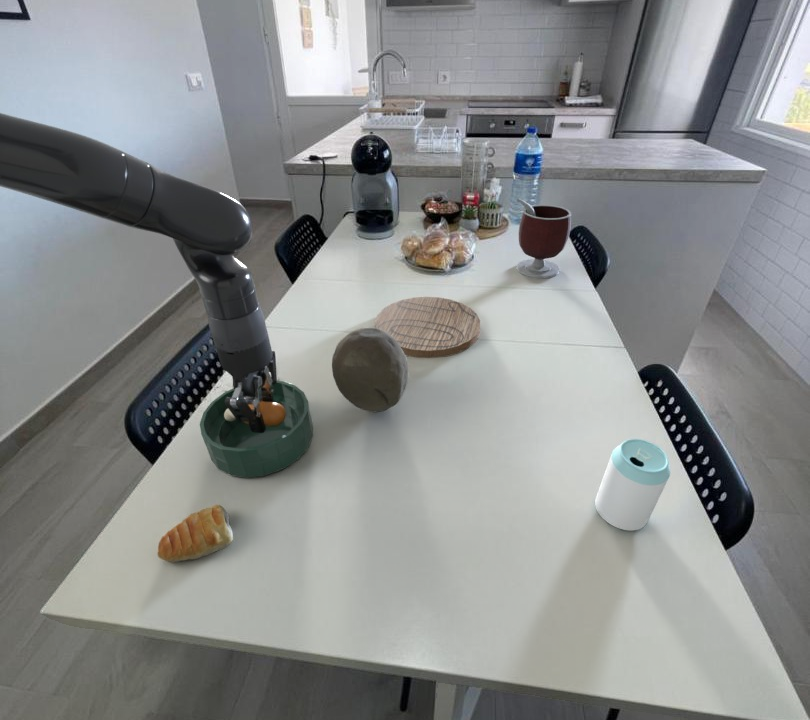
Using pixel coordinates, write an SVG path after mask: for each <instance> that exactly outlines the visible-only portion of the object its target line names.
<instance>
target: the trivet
mask: <svg viewBox="0 0 810 720" xmlns="http://www.w3.org/2000/svg"><path fill="white" fill-rule="evenodd" d="M480 319H481V318H480V317H479V316H478V314H477V312H476V311H475V310H473V309H472V308H471V307H470V306H467V305H466V304H464V303H462V302H460V301H457V300H453V299H449V298H444V297H440V296H439V297H438V296H419V297H410V298H405V299H401V300H398V301H395V302H393V303H390V304H389V305H387V306H385V307H384V308H383V309H381V310H380V312H379V313H378V314H377V315H376V318H375V320H374V328H378V329H381V330H384V331H385V332H387V333H389V334H390V335H391V336H392V337H394V338H395V339H396V341H397V342H398V343H399V345H400V347H401V348H402V350H403V352H404V354H405V356H408V357H413V358H422V359H423V358H424V359H433V358H434V359H435V358H444V357H448V356H449V357H450V356H452V355H456V354H459V353H461V352H463V351H465V350H467V349H469V348H471V347H472V346H473V345H474V344H475V343H476V342H477V341H478V339H479V337H480V334H481V320H480Z"/></svg>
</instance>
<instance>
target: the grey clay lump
mask: <svg viewBox="0 0 810 720" xmlns="http://www.w3.org/2000/svg"><path fill="white" fill-rule="evenodd" d="M408 363H409V362H408V358H407V355H405V354H404V352H403V350H402V348H401V347H400V345H399V343H398V342H397V341H396V339H395V338H394V337H392V336H391V335H390V334H389V333H387V332H385V331H384V330H381V329H378V328H375V327H361V328H357V329H354V330H353V331H350V332H348V333H347V334H346V335H345V336H344V337H343V338H342V339H340V341H339V342H338V343H337V345H336V346H335V348H334V352H333V354H332V358H331V371H332V377H333V380H334V382H335V383H334V384H335V386H336V388H337V389H338V391H339V392H340V394H341V395H342V397H344V398H345V399H346V400H347V401H348V402H349V404H351V405H353V406H355V408H358V409H360V410H363V411H367V412H373V413H378V412H379V413H380V412H384V411H387V410H389V409H390V408H393V407H394V406H396V405H397V404H398V403H399V402H400V401H401V399H402V398H403V396H404V393H405V391H406V389H407V385H408V381H409V364H408Z"/></svg>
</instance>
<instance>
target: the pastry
mask: <svg viewBox="0 0 810 720" xmlns="http://www.w3.org/2000/svg"><path fill="white" fill-rule="evenodd" d="M229 521H230V516H229V513H228V511H227V510H226V508H225V507H223V505H221V504H215V505H214V506H210V507H207V508H203V509H201V510H199V511H197V512H193V513H191V514H190V515H189V516H187V517H186V518H185V519H183V520H182V521H181V522H180V523H178V524H177V525H175V526H173V527H172V528H171V529H170V530H169V531H167V532H166V533H165V534H164V536H162V537H161V539H160V540H159V543H158V548H157V557H158V558H159V559H161V560H163V561H164V562H165V561H166V562H167V563H173V562H174V563H176V562H183V561H187V560H198V559H200V558H203V557H206V556H208V555H211V554H213V553H215V552H218V551H221V550H223V549H225V548H227V547H228V546H229V545H230V544H231V543H232V542H233V540H234V536H233V535H234V534H233V533H234V532H233V530H232V528H231V525H230V524H229Z"/></svg>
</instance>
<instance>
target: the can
mask: <svg viewBox="0 0 810 720" xmlns="http://www.w3.org/2000/svg"><path fill="white" fill-rule="evenodd" d="M670 467H671V466H670V460H669V456H668V455H667V453H666V452H665V451H664V449H662V448H661V447H659V445H657V444H655V443H654V442H651V441H649V440H646V439H642V438H629V439H626V440H624V441H623V442H622V443H621V444H619V445H618V446H616V447H615V448H614V449H613V450H612V452H611V455H610V458H609V460H608V464H607V465H606V469H605V472H604V474H603V477H602V479H601V483H600V486H599V488H598V491H597V494H596V497H595V501H594V504H595V508H596V511H597V513H598V514H599V515H600V517H601V518H602V519H603V520H604V521H605V522H607V523H608V524H610V525H611V526H613V527H615V528H617V529H619V530H624V531H629V532H631V531H638V530H641V529H643V528H644V527H645V526H646V525H647V524H648V522H649V519H650V518H651V515H652V514H653V512H654V509H655V507H656V506H657V503H658V501H659V499H660V497H661V495H662V493H663V491H664V489H665V487H666V485H667V483H668V481H669V478H670V476H671V468H670Z"/></svg>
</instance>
